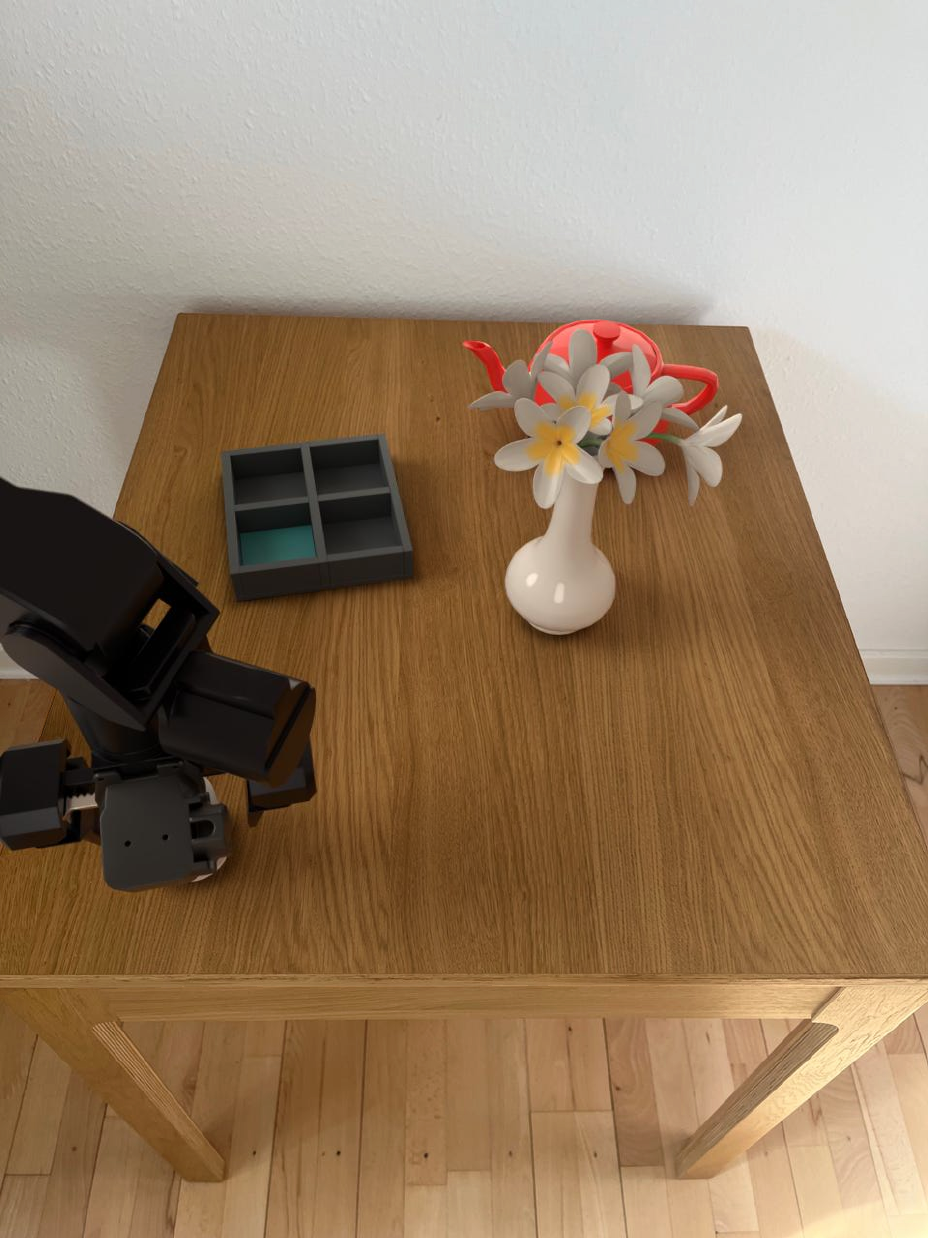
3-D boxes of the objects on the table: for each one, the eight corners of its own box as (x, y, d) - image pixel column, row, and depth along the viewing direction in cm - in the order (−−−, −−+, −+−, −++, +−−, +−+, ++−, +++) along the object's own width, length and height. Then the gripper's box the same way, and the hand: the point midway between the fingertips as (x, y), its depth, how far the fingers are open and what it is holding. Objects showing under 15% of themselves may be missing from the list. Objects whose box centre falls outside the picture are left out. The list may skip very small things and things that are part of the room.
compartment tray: (236, 601, 81) (229, 574, 78) (227, 479, 90) (220, 450, 87) (413, 578, 83) (413, 550, 80) (386, 461, 92) (385, 432, 90)
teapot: (696, 391, 101) (725, 290, 91) (709, 492, 91) (742, 391, 82) (464, 373, 101) (469, 271, 92) (452, 472, 92) (456, 369, 82)
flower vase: (678, 667, 78) (766, 435, 59) (457, 663, 78) (470, 427, 58) (658, 552, 86) (728, 313, 67) (457, 547, 86) (468, 305, 66)
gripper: (-66, 875, 46) (36, 977, 58) (315, 810, 49) (336, 920, 61) (-40, 689, 53) (47, 815, 65) (294, 642, 56) (317, 771, 68)
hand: (186, 832), depth 65 cm, fingers open, 9 cm apart
